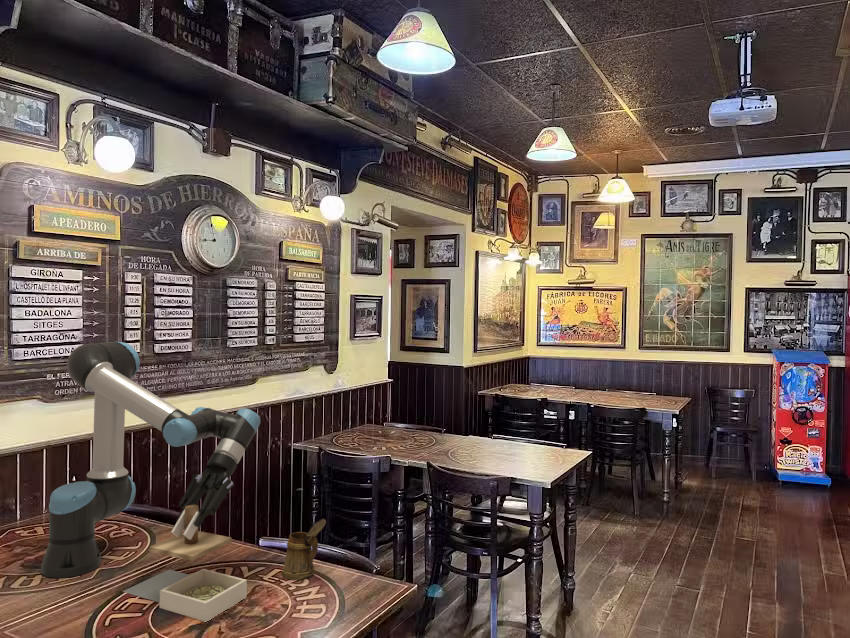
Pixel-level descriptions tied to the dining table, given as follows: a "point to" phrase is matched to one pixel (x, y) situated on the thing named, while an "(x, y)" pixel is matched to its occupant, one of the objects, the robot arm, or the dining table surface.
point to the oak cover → (190, 541)
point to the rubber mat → (156, 585)
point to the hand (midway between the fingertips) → (181, 535)
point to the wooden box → (198, 608)
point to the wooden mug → (302, 553)
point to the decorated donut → (204, 592)
